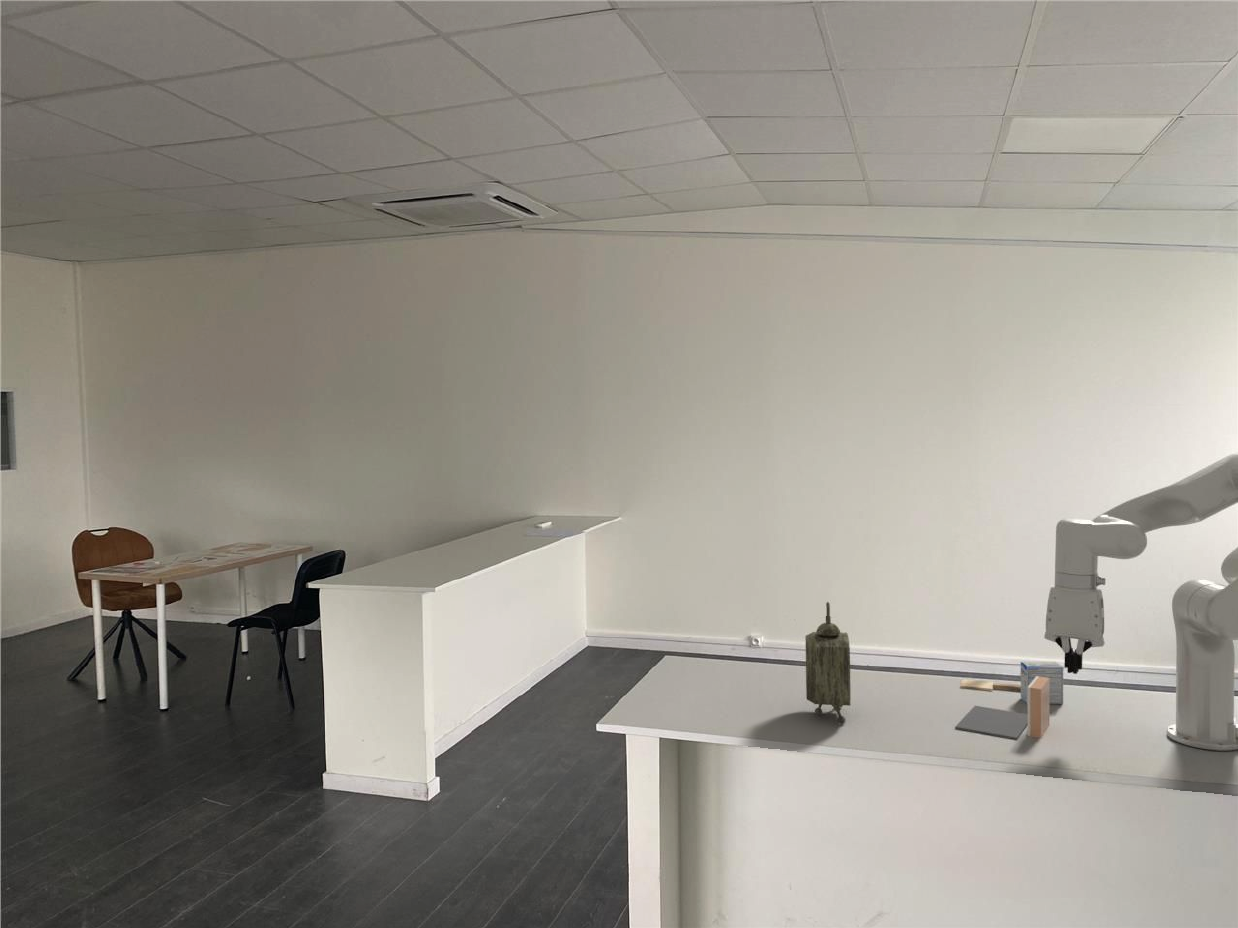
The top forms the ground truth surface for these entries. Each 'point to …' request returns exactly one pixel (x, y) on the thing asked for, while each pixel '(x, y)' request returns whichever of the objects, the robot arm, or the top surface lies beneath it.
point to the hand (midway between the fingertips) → (1073, 671)
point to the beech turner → (988, 685)
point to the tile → (1038, 706)
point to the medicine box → (1043, 670)
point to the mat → (994, 722)
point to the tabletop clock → (828, 667)
